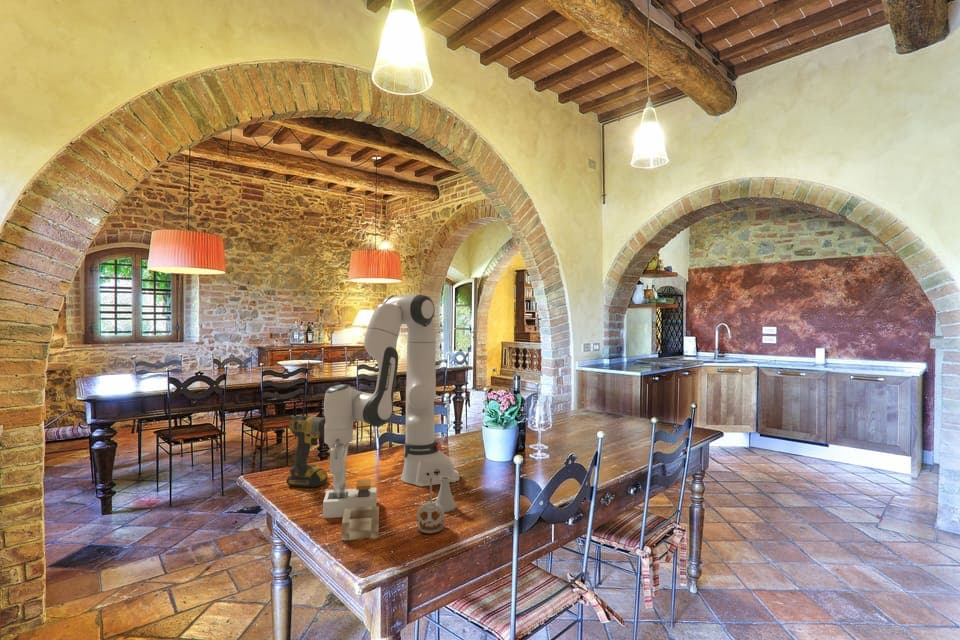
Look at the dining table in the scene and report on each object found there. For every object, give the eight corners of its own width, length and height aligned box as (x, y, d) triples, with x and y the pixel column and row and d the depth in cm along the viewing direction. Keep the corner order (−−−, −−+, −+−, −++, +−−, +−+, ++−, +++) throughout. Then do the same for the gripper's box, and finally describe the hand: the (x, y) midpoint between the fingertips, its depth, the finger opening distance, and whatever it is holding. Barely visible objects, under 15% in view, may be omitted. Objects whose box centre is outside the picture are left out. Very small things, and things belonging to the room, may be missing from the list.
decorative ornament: (415, 534, 135) (416, 482, 135) (419, 523, 143) (419, 473, 143) (442, 535, 135) (443, 483, 135) (444, 523, 143) (445, 474, 143)
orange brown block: (370, 500, 156) (371, 479, 156) (370, 507, 150) (370, 485, 150) (357, 501, 155) (357, 479, 155) (356, 508, 149) (356, 486, 149)
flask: (447, 514, 149) (447, 483, 149) (429, 509, 153) (429, 479, 153) (460, 507, 155) (460, 476, 155) (442, 502, 159) (442, 472, 159)
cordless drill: (332, 491, 168) (333, 421, 168) (282, 486, 172) (282, 418, 172) (344, 482, 177) (345, 416, 177) (296, 478, 181) (297, 413, 181)
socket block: (376, 502, 158) (376, 487, 158) (375, 514, 148) (376, 498, 148) (326, 505, 155) (326, 490, 155) (322, 518, 145) (323, 502, 145)
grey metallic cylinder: (346, 501, 154) (346, 464, 153) (345, 505, 150) (345, 468, 150) (333, 502, 153) (333, 465, 153) (332, 507, 149) (332, 469, 149)
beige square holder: (378, 522, 143) (379, 506, 143) (378, 537, 133) (378, 520, 133) (344, 525, 141) (344, 508, 141) (341, 540, 131) (341, 522, 131)
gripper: (346, 444, 141) (347, 489, 142) (350, 428, 161) (351, 468, 162) (324, 445, 140) (325, 491, 140) (331, 429, 160) (332, 469, 160)
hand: (339, 478), depth 151 cm, fingers closed on grey metallic cylinder, 4 cm apart
